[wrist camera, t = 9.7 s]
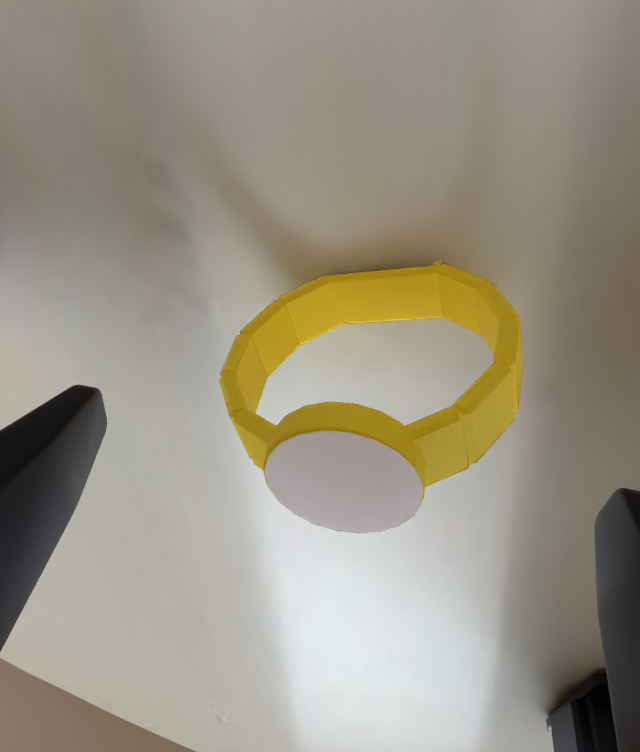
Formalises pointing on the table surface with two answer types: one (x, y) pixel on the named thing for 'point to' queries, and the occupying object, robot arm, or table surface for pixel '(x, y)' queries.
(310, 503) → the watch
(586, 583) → the table surface
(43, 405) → the robot arm
